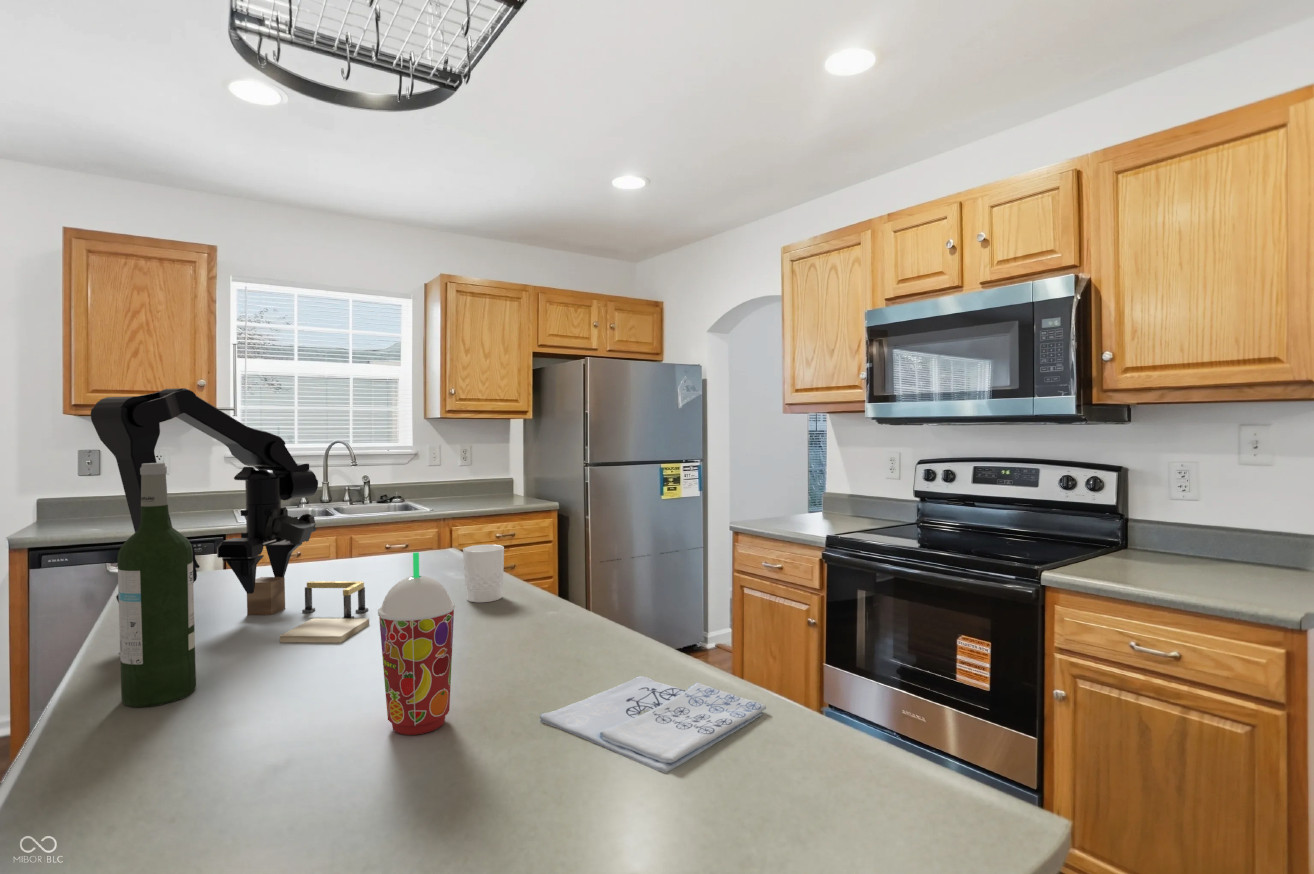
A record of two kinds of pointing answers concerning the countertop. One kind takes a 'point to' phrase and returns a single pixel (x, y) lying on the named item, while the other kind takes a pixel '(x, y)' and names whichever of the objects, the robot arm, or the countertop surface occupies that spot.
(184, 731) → the countertop surface
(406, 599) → the smoothie
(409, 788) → the countertop surface
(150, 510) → the wine bottle
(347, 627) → the birch pad
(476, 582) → the white cup
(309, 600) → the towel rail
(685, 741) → the folded bicycle towel
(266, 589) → the walnut block
